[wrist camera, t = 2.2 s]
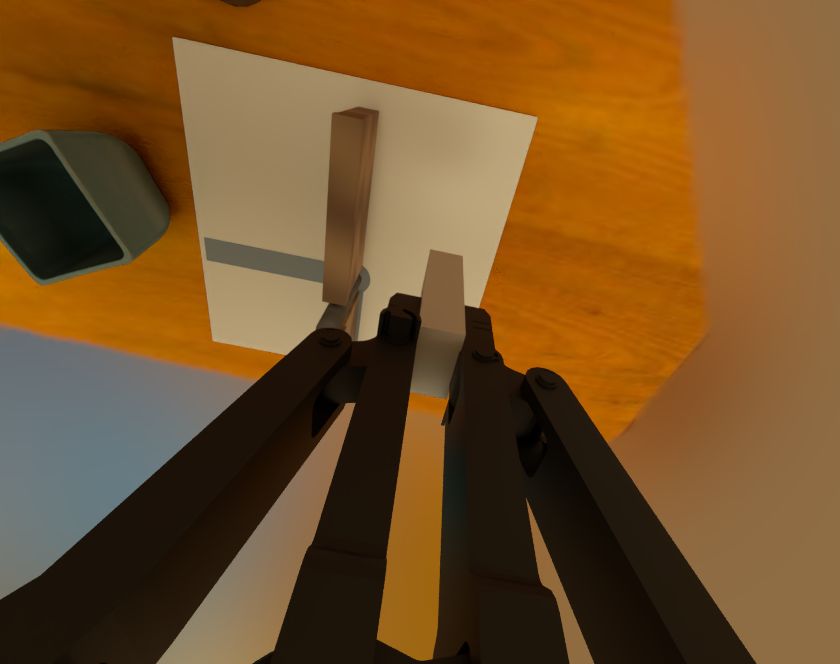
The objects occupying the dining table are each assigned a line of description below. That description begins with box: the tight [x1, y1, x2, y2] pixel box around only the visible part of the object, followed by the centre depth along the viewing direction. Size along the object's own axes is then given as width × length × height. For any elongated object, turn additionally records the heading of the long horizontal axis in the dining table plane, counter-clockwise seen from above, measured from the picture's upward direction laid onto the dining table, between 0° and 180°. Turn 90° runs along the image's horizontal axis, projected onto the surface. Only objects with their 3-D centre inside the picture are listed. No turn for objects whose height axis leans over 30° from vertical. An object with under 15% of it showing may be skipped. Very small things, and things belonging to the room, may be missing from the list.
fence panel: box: [322, 107, 379, 306], centre depth 29 cm, size 12×2×7 cm, turn 170°
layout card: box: [172, 37, 538, 355], centre depth 35 cm, size 26×26×1 cm
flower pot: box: [0, 130, 170, 286], centre depth 30 cm, size 9×9×9 cm
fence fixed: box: [316, 274, 362, 341], centre depth 35 cm, size 11×2×9 cm, turn 169°
